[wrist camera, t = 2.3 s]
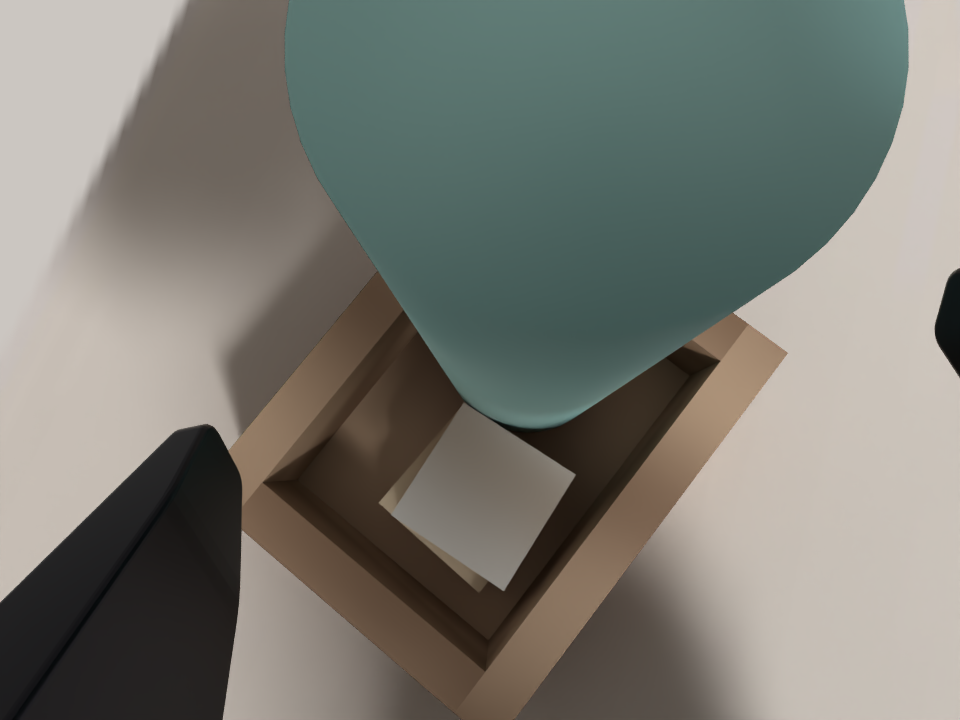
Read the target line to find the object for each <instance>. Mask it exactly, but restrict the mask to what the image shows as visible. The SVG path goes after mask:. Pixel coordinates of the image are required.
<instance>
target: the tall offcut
mask: <svg viewBox="0 0 960 720" xmlns="http://www.w3.org/2000/svg"><path fill="white" fill-rule="evenodd" d="M285 74H286V80H287V87H288V94H289V101H290V107H291V110H292V114H293V117H294V120H295V124H296V127H297V131H298V134H299V137H300V141H301V144H302V146H303V148H304V150H305V152H306V155H307V157H308V159H309V161H310V163H311V165H312V168H313V170H314V172H315V174H316V176H317V178H318V180H319V181H320V183H321V185H322V186H323V188H324V189H325V191H326V192H327V194H328V195H329V197H330V199H331V200H332V202H333V203H334V205H335V206H336V208H337V210H338V211H339V213H340V214H341V216H342V217H343V219H344V220H345V222H346V223H347V225H348V226H349V228H350V229H351V231H352V232H353V234H354V235H355V237H356V238H357V240H358V241H359V243H360V244H361V246H362V247H363V249H364V250H365V252H366V254H367V255H368V257H369V258H370V260H371V261H372V263H373V264H374V266H375V267H376V269H377V270H378V272H379V273H380V275H381V276H382V278H383V279H384V281H385V282H386V284H387V285H388V287H389V288H390V290H391V291H392V293H393V294H394V296H395V297H396V299H397V301H398V302H399V304H400V305H401V307H402V308H403V310H404V311H405V313H406V314H407V316H408V317H409V319H410V320H411V322H412V323H413V325H414V326H415V328H416V329H417V331H418V332H419V334H420V335H421V337H422V338H423V340H424V341H425V343H426V344H427V346H428V347H429V349H430V351H431V352H432V354H433V355H434V357H435V358H436V360H437V361H438V363H439V364H440V366H441V367H442V369H443V370H444V372H445V373H446V375H447V376H448V378H449V379H450V381H451V382H452V384H453V385H454V387H455V388H456V390H457V391H458V393H459V394H460V396H461V397H462V399H463V400H464V402H465V403H466V404H467V405H468V406H470V407H471V408H473V409H474V410H476V411H478V412H479V413H481V414H482V415H484V416H485V417H487V418H488V419H490V420H492V421H493V422H495V423H496V424H498V425H499V426H501V427H502V428H504V429H506V430H511V431H515V432H526V433H529V432H541V431H546V430H550V429H553V428H556V427H559V426H561V425H563V424H565V423H567V422H569V421H570V420H572V419H574V418H575V417H577V416H578V415H580V414H581V413H583V412H584V411H586V410H587V409H589V408H590V407H592V406H593V405H595V404H596V403H598V402H599V401H601V400H602V399H604V398H605V397H607V396H608V395H610V394H611V393H613V392H614V391H616V390H617V389H619V388H620V387H622V386H623V385H625V384H626V383H628V382H629V381H631V380H632V379H634V378H635V377H637V376H638V375H640V374H641V373H643V372H644V371H646V370H647V369H649V368H650V367H652V366H653V365H655V364H656V363H658V362H659V361H661V360H662V359H664V358H665V357H667V356H668V355H670V354H671V353H673V352H674V351H676V350H677V349H679V348H680V347H682V346H683V345H685V344H686V343H688V342H689V341H691V340H692V339H694V338H695V337H697V336H698V335H700V334H701V333H703V332H704V331H706V330H707V329H709V328H710V327H712V326H713V325H715V324H716V323H718V322H719V321H721V320H722V319H724V318H725V317H727V316H728V315H730V314H731V313H733V312H734V311H736V310H737V309H739V308H740V307H742V306H743V305H745V304H746V303H748V302H749V301H751V300H752V299H754V298H755V297H757V296H758V295H760V294H761V293H763V292H764V291H766V290H767V289H769V288H770V287H772V286H773V285H775V284H776V283H778V282H779V281H781V280H782V279H784V278H785V277H787V276H788V275H790V274H791V273H793V272H794V271H796V270H797V269H798V268H799V267H800V266H801V265H803V264H804V263H805V262H806V261H807V260H808V259H809V258H811V257H812V256H813V255H814V254H815V253H816V252H818V251H819V250H820V249H821V248H822V247H823V246H824V245H826V244H827V243H828V241H829V240H830V239H831V238H832V237H833V236H834V235H835V233H836V232H837V231H838V230H839V229H840V228H841V227H842V225H843V224H844V223H845V222H846V221H847V220H848V219H849V217H850V216H851V215H852V214H853V213H854V211H855V210H856V208H857V207H858V205H859V204H860V202H861V201H862V199H863V197H864V196H865V194H866V193H867V191H868V190H869V188H870V187H871V185H872V184H873V182H874V181H875V179H876V177H877V175H878V172H879V170H880V168H881V166H882V164H883V162H884V159H885V157H886V155H887V153H888V151H889V149H890V146H891V144H892V142H893V138H894V135H895V131H896V128H897V125H898V121H899V118H900V114H901V111H902V108H903V103H904V95H905V88H906V81H907V74H908V25H907V18H906V12H905V5H904V0H289V5H288V12H287V20H286V27H285Z"/></svg>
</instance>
